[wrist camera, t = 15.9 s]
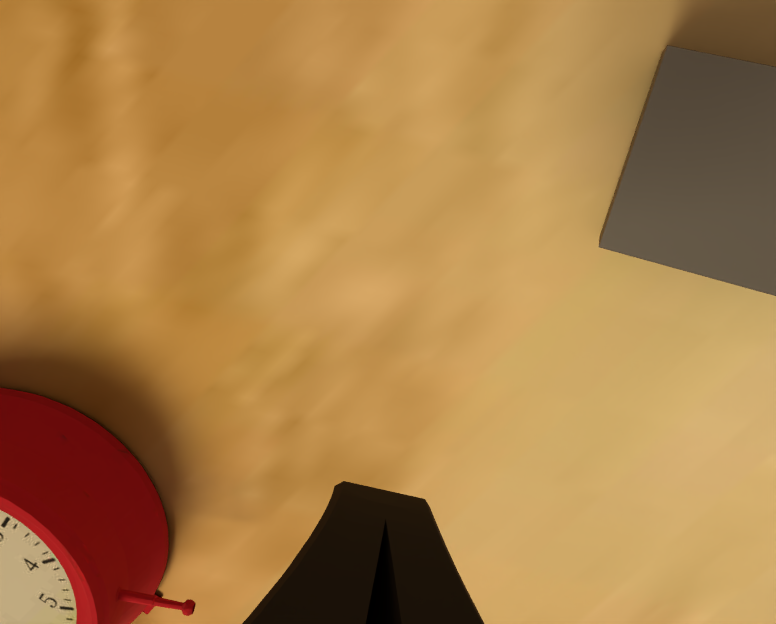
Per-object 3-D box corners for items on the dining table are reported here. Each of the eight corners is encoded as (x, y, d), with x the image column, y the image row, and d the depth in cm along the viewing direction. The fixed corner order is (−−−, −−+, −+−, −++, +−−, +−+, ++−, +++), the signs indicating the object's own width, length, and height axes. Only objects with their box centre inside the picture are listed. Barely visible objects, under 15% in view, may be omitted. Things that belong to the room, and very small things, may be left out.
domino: (662, 51, 17) (969, 113, 15) (599, 236, 18) (869, 310, 17) (667, 45, 15) (1008, 113, 14) (598, 247, 17) (893, 328, 15)
